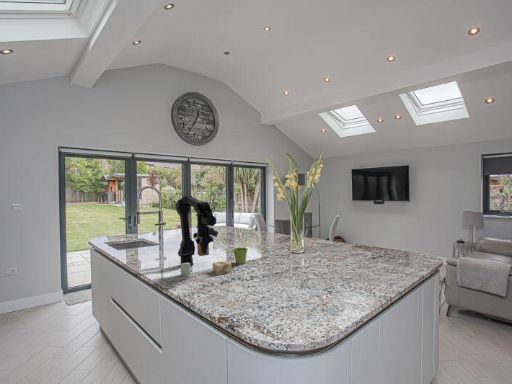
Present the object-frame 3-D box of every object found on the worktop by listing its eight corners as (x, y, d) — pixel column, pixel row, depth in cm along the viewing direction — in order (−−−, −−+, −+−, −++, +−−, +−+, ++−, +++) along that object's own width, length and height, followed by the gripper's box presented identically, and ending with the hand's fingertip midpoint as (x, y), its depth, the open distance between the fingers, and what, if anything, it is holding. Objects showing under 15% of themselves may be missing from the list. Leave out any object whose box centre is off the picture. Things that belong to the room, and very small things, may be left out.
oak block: (218, 275, 161) (217, 266, 161) (212, 271, 168) (212, 262, 168) (231, 272, 164) (231, 264, 164) (226, 269, 171) (225, 260, 171)
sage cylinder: (179, 275, 160) (178, 264, 160) (184, 273, 165) (183, 262, 165) (187, 276, 158) (187, 265, 158) (192, 273, 163) (191, 263, 163)
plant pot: (246, 265, 179) (245, 251, 179) (231, 264, 181) (230, 250, 181) (249, 261, 188) (249, 247, 188) (235, 260, 190) (235, 247, 190)
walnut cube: (200, 256, 160) (199, 245, 160) (197, 254, 165) (197, 243, 165) (208, 255, 162) (208, 244, 162) (206, 253, 167) (206, 242, 167)
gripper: (222, 225, 158) (222, 254, 159) (211, 221, 175) (211, 248, 175) (201, 226, 154) (202, 256, 154) (192, 223, 170) (193, 250, 170)
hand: (203, 252), depth 164 cm, fingers closed on walnut cube, 5 cm apart
